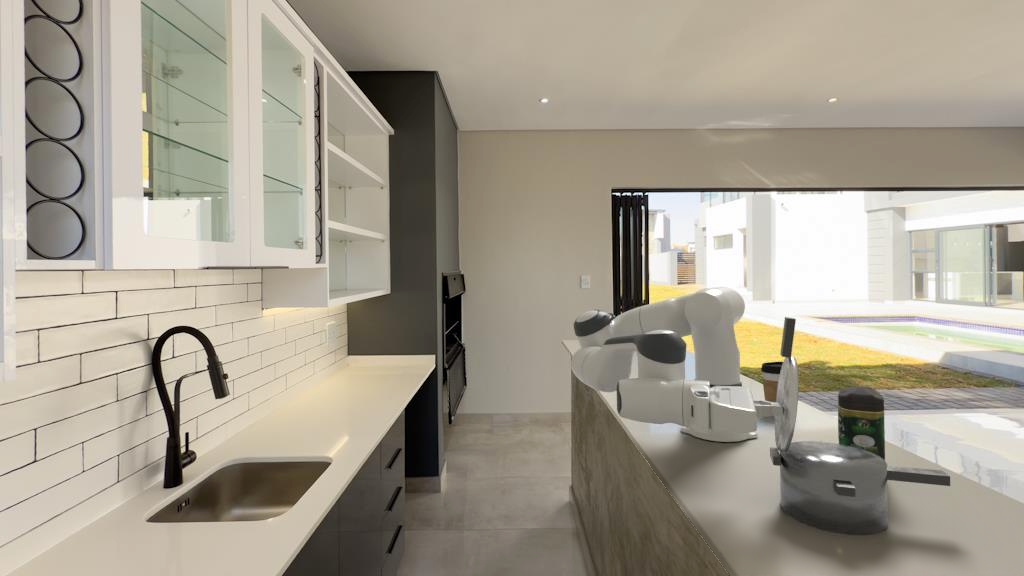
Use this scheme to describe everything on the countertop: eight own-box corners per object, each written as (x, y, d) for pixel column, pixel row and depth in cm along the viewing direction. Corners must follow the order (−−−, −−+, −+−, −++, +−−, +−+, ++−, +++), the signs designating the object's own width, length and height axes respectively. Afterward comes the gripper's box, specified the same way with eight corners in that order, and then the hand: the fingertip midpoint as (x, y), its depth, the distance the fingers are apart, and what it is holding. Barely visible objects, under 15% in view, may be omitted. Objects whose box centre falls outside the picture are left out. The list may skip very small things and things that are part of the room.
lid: (777, 435, 100) (765, 433, 101) (792, 315, 99) (779, 313, 100) (790, 465, 85) (775, 462, 85) (808, 323, 83) (793, 321, 84)
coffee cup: (798, 415, 150) (797, 365, 150) (769, 416, 150) (769, 365, 150) (783, 408, 159) (783, 360, 158) (756, 408, 159) (755, 361, 159)
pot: (766, 481, 103) (765, 433, 103) (921, 499, 94) (921, 445, 94) (779, 532, 83) (779, 472, 83) (979, 560, 74) (979, 492, 74)
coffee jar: (838, 466, 111) (837, 382, 110) (883, 473, 106) (882, 385, 106) (839, 482, 102) (837, 391, 102) (887, 490, 98) (886, 395, 98)
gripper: (702, 406, 107) (776, 412, 101) (698, 436, 88) (789, 444, 82) (702, 377, 106) (776, 380, 101) (697, 399, 87) (788, 405, 82)
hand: (782, 409), depth 92 cm, fingers closed, pressing on lid
